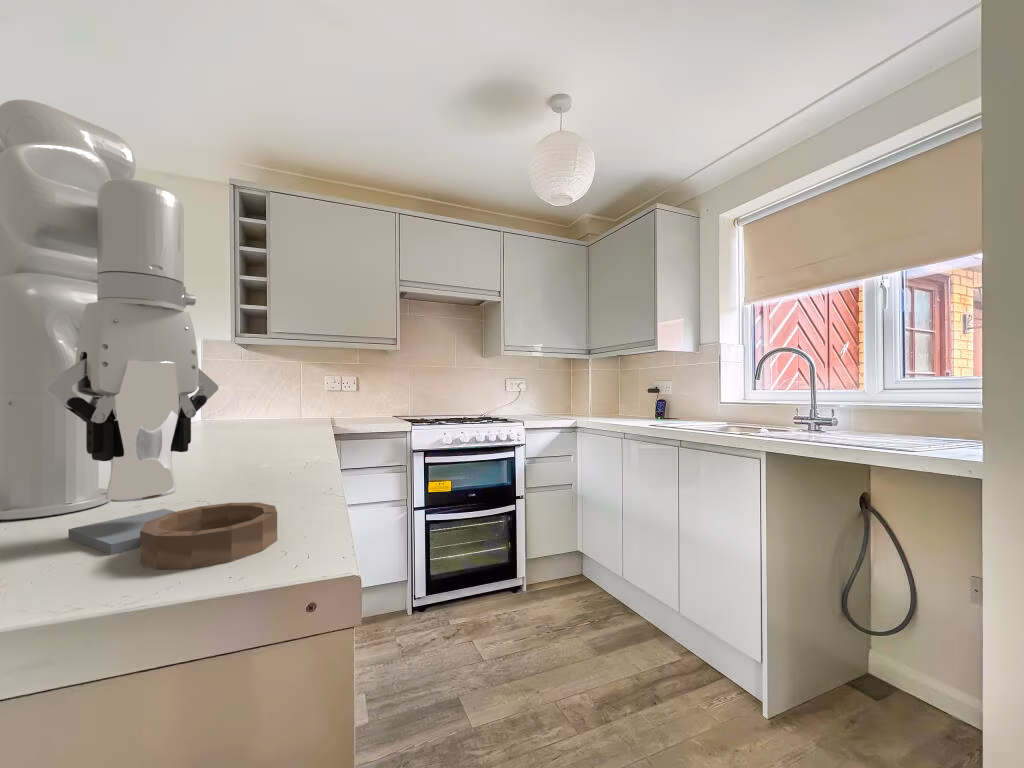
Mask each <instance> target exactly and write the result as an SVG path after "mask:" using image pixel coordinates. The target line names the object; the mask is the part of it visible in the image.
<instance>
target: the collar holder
mask: <svg viewBox="0 0 1024 768" xmlns="http://www.w3.org/2000/svg"><path fill="white" fill-rule="evenodd" d="M276 541H278V510H277V508H276V505H271V504H267V503H262V502H227V503H226V502H225V503H219V504H210V505H202V506H195V507H192V508H187V509H183V510H177V511H175V512H173V513H168V514H166V515H163V516H161V517H158V518H155V519H153V520H150V521H148V522H145V524H144V526H143V527H142V529H141V531H140V547H139V563H140V564H141V565H145V566H148V567H150V568H152V569H155V570H179V569H181V570H182V569H186V570H187V569H192V570H193V569H196V568H202V567H203V568H204V567H207V566H212V565H218V564H219V565H220V564H225V563H230V562H234V561H236V560H239V559H242V558H245V557H247V556H251V555H253V554H254V555H255V554H257V553H260V552H263V551H264V550H265V549H267V548H269V547H270V546H271V545H272V544H274V543H276Z"/></svg>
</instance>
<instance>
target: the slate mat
mask: <svg viewBox="0 0 1024 768" xmlns="http://www.w3.org/2000/svg"><path fill="white" fill-rule="evenodd" d="M173 512H176V511H175V510H171V509H168V508H167V509H166V508H162V509H155V510H152V511H148V512H143V513H142V512H141V513H137V514H133V515H128V516H124V517H120V518H115V519H109V520H105V521H101V522H96V523H91V524H85V525H82V526H78V527H77V526H76V527H72V528H68V536H67V537H68V539H69V540H72V541H75V542H77V543H80V544H83V545H85V546H88V547H90V548H93V549H96V550H99V551H101V552H104V553H106V554H108V555H114V554H119V553H122V552H125V551H131V550H133V549H137V548H140V531H141V529H142V527H143V526H144V524H145V522H148V521H150V520H153V519H155V518H158V517H161V516H163V515H166V514H168V513H173Z"/></svg>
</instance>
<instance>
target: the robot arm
mask: <svg viewBox="0 0 1024 768" xmlns="http://www.w3.org/2000/svg"><path fill="white" fill-rule="evenodd" d="M136 166H137V165H136V158H135V154H134V152H133V150H132V148H131V147H130V145H129V143H127V142H126V141H125V139H123V137H121V136H120V135H118V134H117V133H114V132H113V131H111V130H108V129H105V128H104V127H101V126H98V125H96V124H94V123H91V122H90V121H89V122H88V121H87V120H84V119H81V118H79V117H77V116H75V115H73V114H69V113H67V112H65V111H62V110H59V109H58V108H55V107H53V106H50V105H48V104H44V103H40V102H37V101H35V100H34V101H33V100H28V99H13V100H8V101H5V102H3V103H2V104H0V521H9V520H23V519H34V518H41V517H48V516H56V515H62V514H67V513H73V512H77V511H82V510H87V509H90V508H95V507H98V506H102V505H104V504H106V503H108V502H110V501H108V500H106V493H107V489H108V488H99V470H100V469H99V462H109V461H110V462H111V459H113V457H114V426H113V424H112V423H111V422H108V415H109V414H110V412H111V410H112V396H115V395H117V394H119V393H120V388H121V385H122V382H123V378H124V375H125V372H126V368H127V361H161V362H175V363H177V371H178V377H179V383H180V392H181V411H180V418H179V423H178V428H177V433H176V438H175V442H174V447H173V452H177V453H185V452H186V453H187V452H188V450H189V444H190V443H191V442H192V419H193V418H195V417H196V416H197V415H196V414H197V412H198V411H199V410H201V408H203V406H204V405H206V404H207V401H208V400H209V399H211V398H212V397H213V396H214V394H216V393H217V391H218V390H219V385H218V384H217V383H216V382H215V381H214V380H213V379H211V378H210V377H209V376H208V375H207V374H206V373H205V372H204V371H203V370H201V369H200V368H199V356H198V347H197V340H196V334H195V329H194V324H193V322H192V317H191V314H190V312H186V311H185V309H186V307H187V306H191V307H193V306H195V304H196V302H197V298H196V296H195V295H194V294H189V293H187V291H186V289H187V288H186V286H185V213H184V206H183V204H182V202H181V200H180V198H179V197H178V196H177V195H176V194H174V193H173V192H171V191H170V190H168V189H166V188H164V187H162V186H159V185H156V184H154V183H150V182H147V181H142V180H138V179H134V177H135V174H136V171H137V169H136V168H137V167H136ZM195 392H196V393H195ZM192 393H194V394H193V395H191V394H192ZM189 395H191V396H189Z"/></svg>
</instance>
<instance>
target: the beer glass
mask: <svg viewBox="0 0 1024 768" xmlns="http://www.w3.org/2000/svg"><path fill="white" fill-rule="evenodd" d="M180 411H181V392H180V383H179V377H178V371H177V363H175V362H161V361H127V368H126V372H125V375H124V378H123V382H122V385H121V388H120V393H119V394H117V395H115V396H112V410H111V412H110V414H109V415H108V422H111V423H112V424H113V426H114V457H113V459H111V460H110V477H109V481H108V485H107V488H106V489H107V493H106V500H108V501H109V502H115V503H121V502H122V503H124V502H138V501H146V500H151V499H157V498H161V497H166V496H169V495H173V494H175V493H176V492H177V486H176V485H177V483H176V481H175V476H174V470H173V452H174V451H173V447H174V442H175V438H176V433H177V428H178V423H179V418H180Z"/></svg>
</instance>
